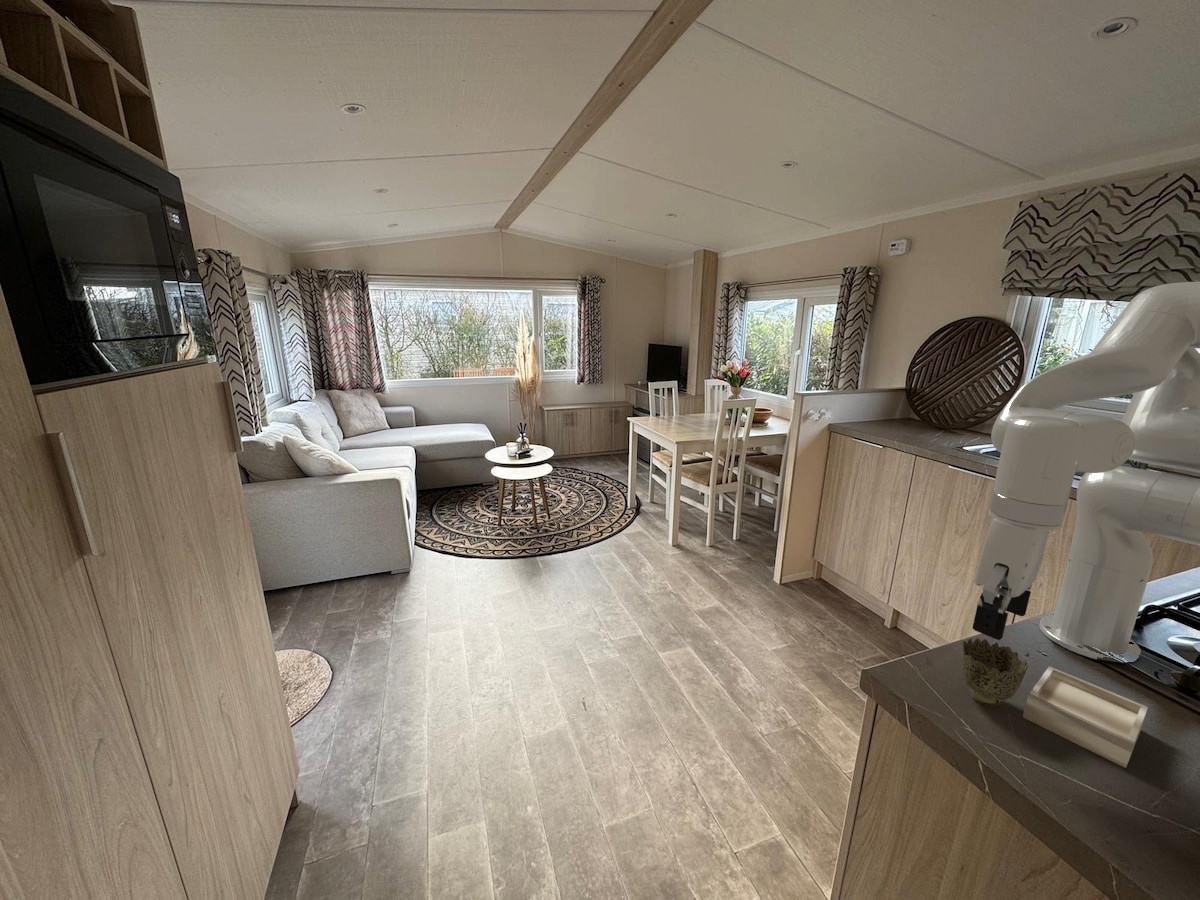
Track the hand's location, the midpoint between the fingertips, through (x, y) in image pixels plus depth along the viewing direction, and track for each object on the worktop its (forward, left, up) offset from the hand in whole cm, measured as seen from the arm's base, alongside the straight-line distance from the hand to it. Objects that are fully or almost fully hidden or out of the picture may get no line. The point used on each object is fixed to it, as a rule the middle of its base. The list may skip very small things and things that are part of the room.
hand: (999, 622), depth 68 cm
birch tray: (-6, +10, -13) cm, 18 cm away
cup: (-1, 0, -14) cm, 14 cm away
